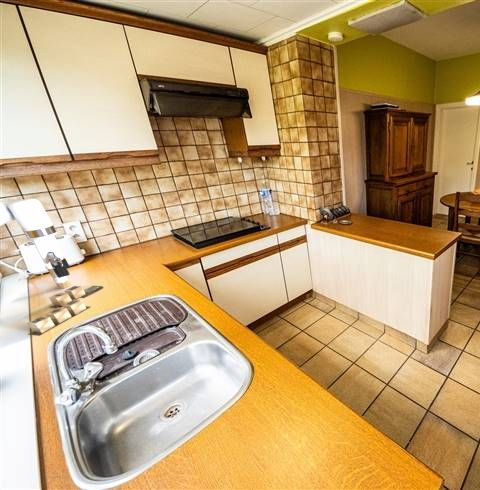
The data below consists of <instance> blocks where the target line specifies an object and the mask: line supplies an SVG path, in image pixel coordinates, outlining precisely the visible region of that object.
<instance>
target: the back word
mask: <svg viewBox="0 0 480 490" xmlns="http://www.w3.org/2000/svg"><path fill="white" fill-rule="evenodd" d="M103 289H104V286H103V285H92V286H89V287H87V288H86V289H84V288H83V286H81V285H73V286H71V287H68V288H67V289H64V290H63V292H58V293H56V294H53V295H52V296H50V297H48V299H49V300H50V302H51V303H52V305H51V306H49V307H48V308H49V309H56V308H64V307H63V305H64V304H66V303H68V302H70V301H72V300H80V299H85V298H88V297H89V296H91V295H93V294H95V293H97V292H98V291H101V290H103Z"/></svg>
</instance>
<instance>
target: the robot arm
mask: <svg viewBox="0 0 480 490" xmlns="http://www.w3.org/2000/svg"><path fill="white" fill-rule="evenodd" d="M14 221H16V222H17V225H18V226H19V228H20V229H21V231H22V232H23V234H24V235H25V237H26V239H27V240H29V241H32V242H33V244H34V247H35V248H36V250H37V253H38V254H39V256H40V257H41V259H42V261H43V263H44V265H47V264H49V263H51V266H52V268H53V270H54V272H55V274H56V275H57V277H58V278H61V277H64V276H66V277H67V276H70V271H69V270H68V269H69V268H70V267H71V266H70V264H69V263H68V261H67V259H66V258H65V253H64V251H63V249H62V247H61V245H60V243H59V241H58V239H57V238H56V236H55V235H57V234H58V231H57V229H56V228H55V225H54V224H53V221H52V220H51V218H50V217H49V215H48V213H47V211H46V210H45V208H44V206H43V204H42V202H41V201H40V200H38V199H37V198H24V199H16V200H9V201H8V200H7V201H5V200H4V201H1V200H0V227H1V226H4V225H5V224H8V223H10V222H14Z"/></svg>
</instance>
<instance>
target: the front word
mask: <svg viewBox="0 0 480 490" xmlns="http://www.w3.org/2000/svg"><path fill="white" fill-rule="evenodd" d="M90 308H91V306H89V305H88V306H87V305H85V303H84V301H83V300H82V299H77V300H72V301H70V302H68V303H66V304H64V305H63V307H61V308H53V310H50V311H49V312H47V313H45V316H46V317H50V319H51V320H52V322H53V323H54V325H55V326H54V327H52V328H50V329H48V330H47V331H45V332H43V333H36V332H33V331H32V332H29V333H28V334H27V335H28V336H38V337H40V336H42V335H43V334H45V333H47V332H49V331H51V330H53V329H54V328H56V327H58V326H60V325H61V324H64V323H66V322H67V321H69V320H70V319H72V318H75V317H76V316H78V315H80V314H81V313H83V312H85V311H86V310H89V309H90Z"/></svg>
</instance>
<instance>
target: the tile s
mask: <svg viewBox="0 0 480 490" xmlns="http://www.w3.org/2000/svg"><path fill="white" fill-rule="evenodd" d="M26 324H27V325H28V327H29V328H30V329H31V331H32V332H36V333H43V332H45V331H47V330H48V329H50V328H52V327H54V326H55V325H54V323H53V322H52V320H51V319H50V317H47V316H42V315H40V316H39V317H36V318H35V319H33V320H31V321H29V322H27V323H26ZM54 328H55V327H54ZM47 332H48V331H47ZM45 333H46V332H45Z"/></svg>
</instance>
